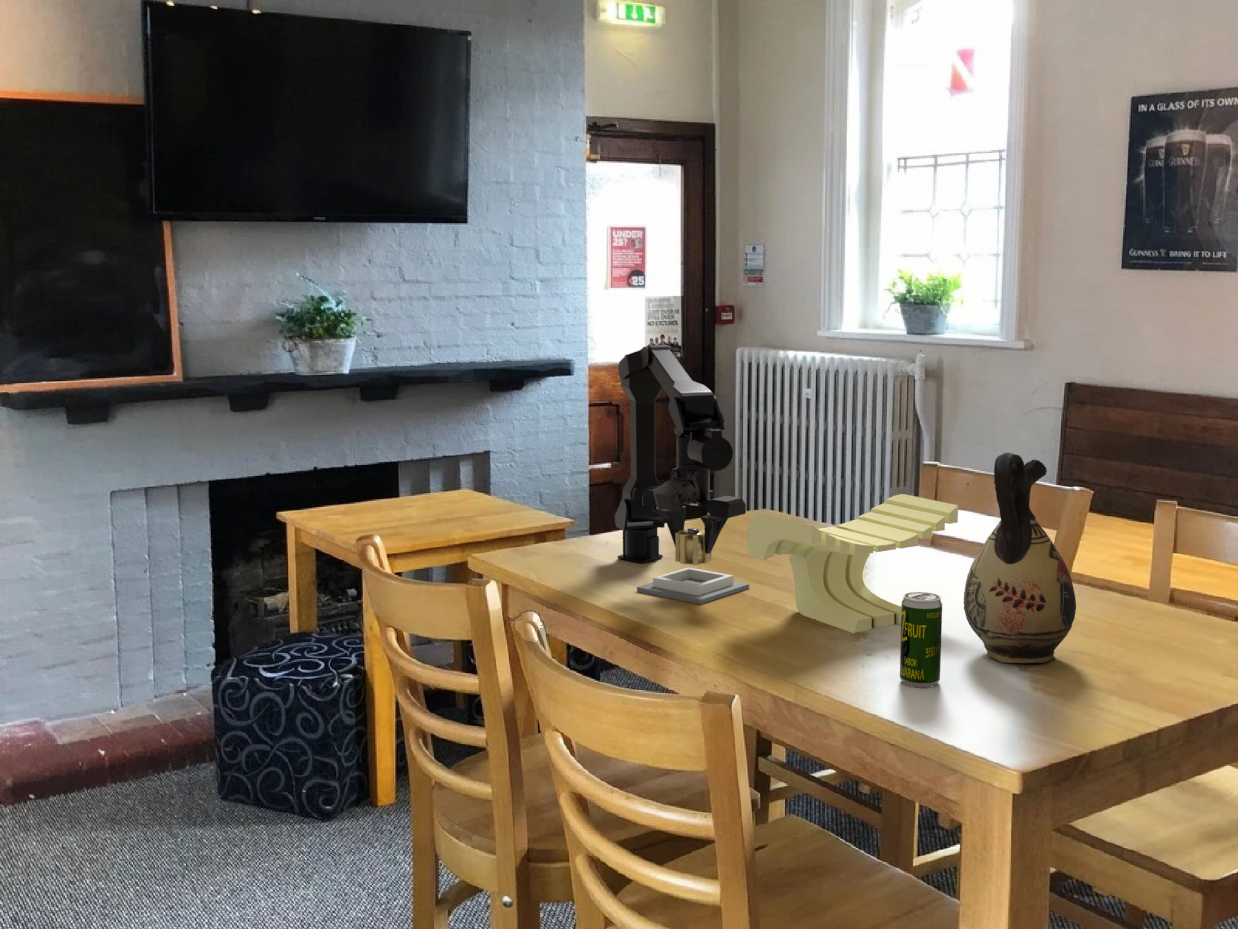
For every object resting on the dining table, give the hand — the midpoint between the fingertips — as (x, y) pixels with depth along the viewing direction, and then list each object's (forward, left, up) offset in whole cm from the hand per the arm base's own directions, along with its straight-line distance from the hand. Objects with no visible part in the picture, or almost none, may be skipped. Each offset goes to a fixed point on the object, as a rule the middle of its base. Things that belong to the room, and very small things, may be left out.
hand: (693, 550), depth 228 cm
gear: (0, 0, -2) cm, 2 cm away
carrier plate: (0, 0, -7) cm, 7 cm away
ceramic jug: (+60, -2, -7) cm, 61 cm away
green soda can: (+55, -21, -7) cm, 59 cm away
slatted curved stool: (+30, +3, -7) cm, 31 cm away
